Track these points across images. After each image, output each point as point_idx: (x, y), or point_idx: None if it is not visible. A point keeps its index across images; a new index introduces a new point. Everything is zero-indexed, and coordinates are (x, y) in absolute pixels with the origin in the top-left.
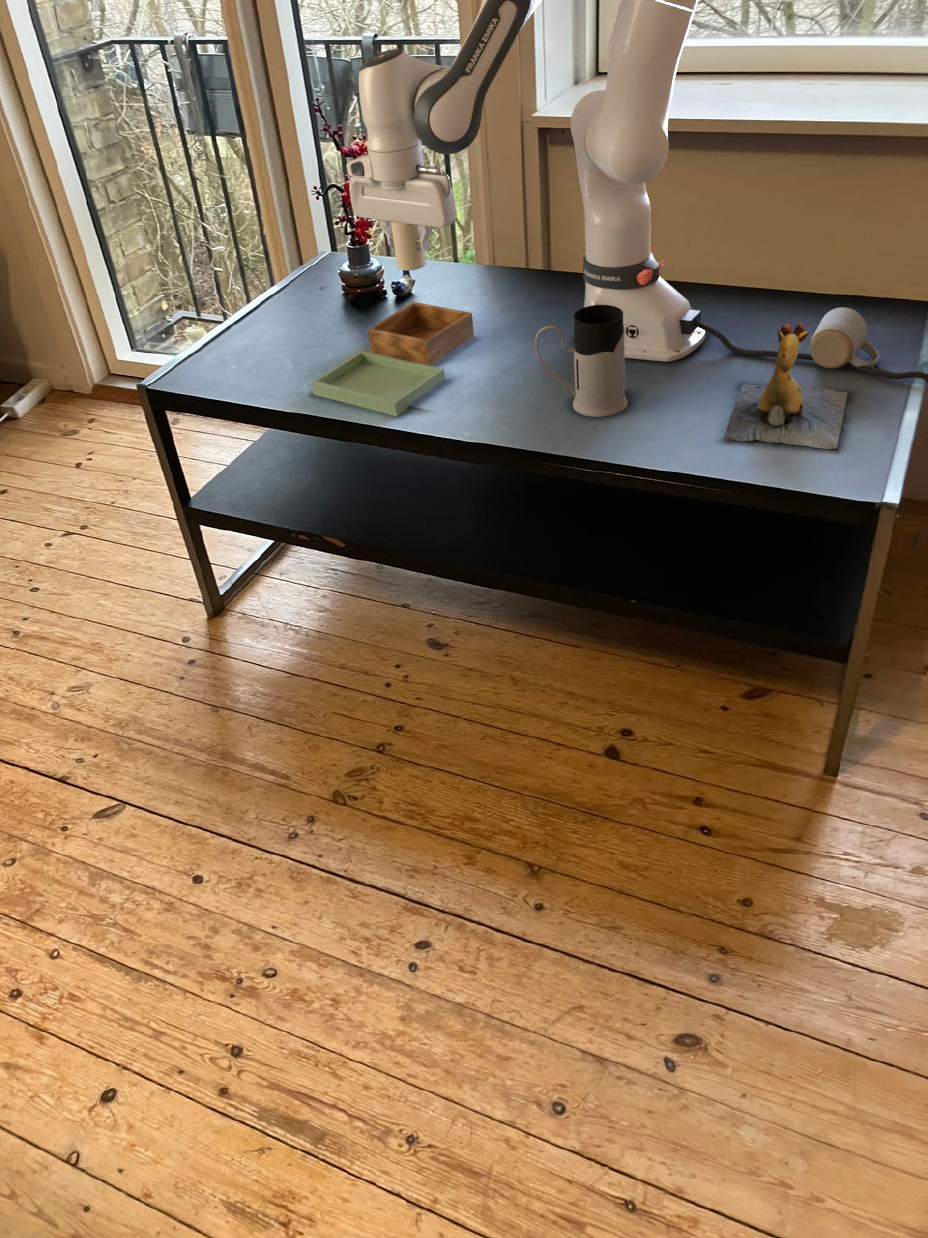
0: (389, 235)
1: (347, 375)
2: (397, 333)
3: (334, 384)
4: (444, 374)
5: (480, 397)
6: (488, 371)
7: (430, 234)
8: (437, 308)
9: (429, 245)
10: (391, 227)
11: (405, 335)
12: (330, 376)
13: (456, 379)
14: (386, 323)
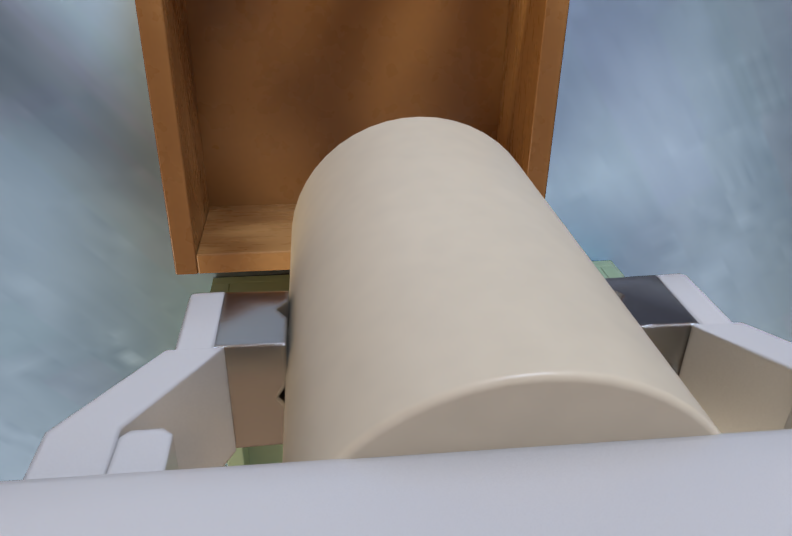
0: (231, 453)
1: None
2: (188, 57)
3: (268, 451)
4: (623, 275)
5: (770, 289)
6: (731, 124)
7: (783, 340)
8: None
9: (688, 282)
10: (175, 422)
11: (199, 4)
12: (246, 463)
13: (639, 226)
14: (185, 152)
